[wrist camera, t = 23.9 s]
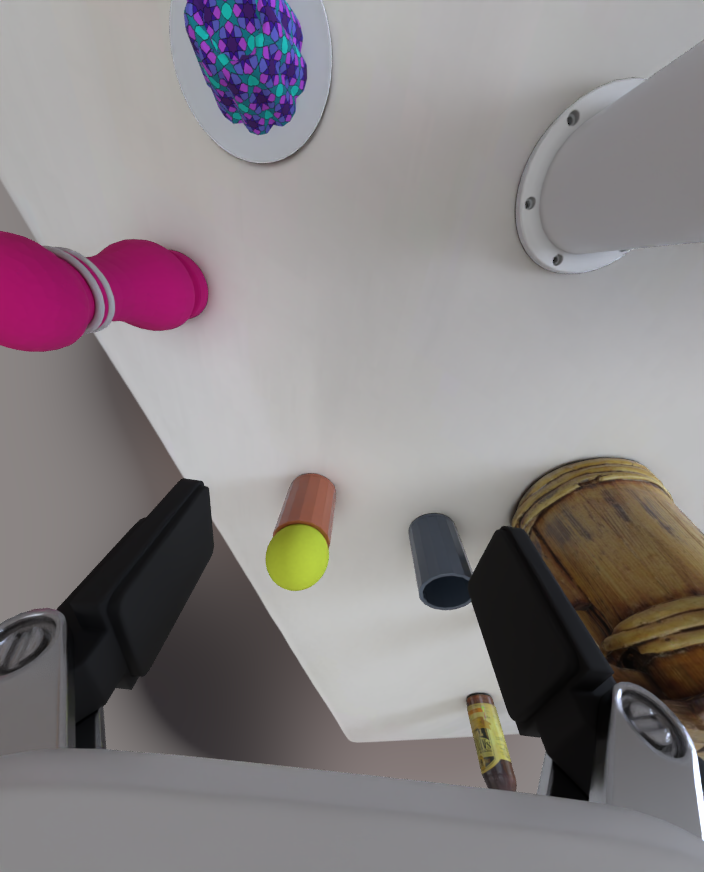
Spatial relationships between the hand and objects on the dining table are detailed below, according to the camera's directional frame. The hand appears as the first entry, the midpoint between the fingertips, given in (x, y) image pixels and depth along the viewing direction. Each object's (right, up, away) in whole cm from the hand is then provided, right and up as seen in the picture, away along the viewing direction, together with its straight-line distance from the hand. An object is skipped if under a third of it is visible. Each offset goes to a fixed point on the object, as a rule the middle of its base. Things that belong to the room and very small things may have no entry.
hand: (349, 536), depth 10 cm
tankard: (+30, -7, +33) cm, 45 cm away
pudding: (-7, +32, +13) cm, 35 cm away
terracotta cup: (-5, -5, +33) cm, 33 cm away
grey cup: (+12, -11, +35) cm, 39 cm away
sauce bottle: (+29, -58, +60) cm, 88 cm away
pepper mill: (-18, +19, +21) cm, 33 cm away
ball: (-6, -10, +23) cm, 26 cm away
